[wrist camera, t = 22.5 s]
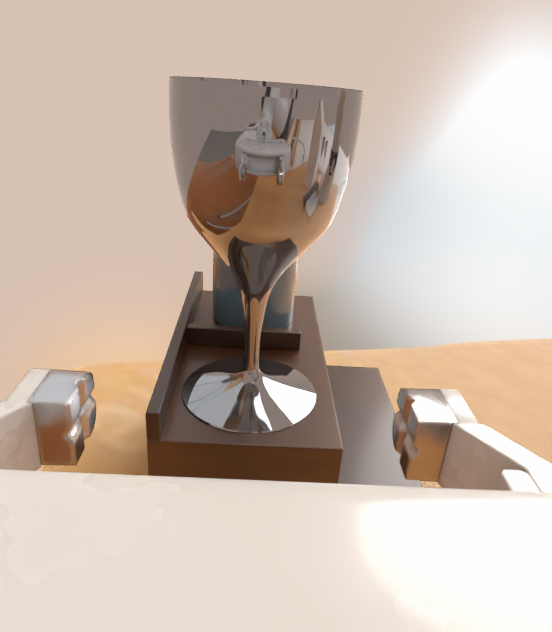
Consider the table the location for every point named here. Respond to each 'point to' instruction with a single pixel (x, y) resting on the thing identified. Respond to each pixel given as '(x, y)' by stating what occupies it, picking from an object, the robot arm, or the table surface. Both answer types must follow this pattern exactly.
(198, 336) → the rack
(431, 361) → the table surface
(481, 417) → the table surface
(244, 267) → the wine glass
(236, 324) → the tumbler
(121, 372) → the table surface
